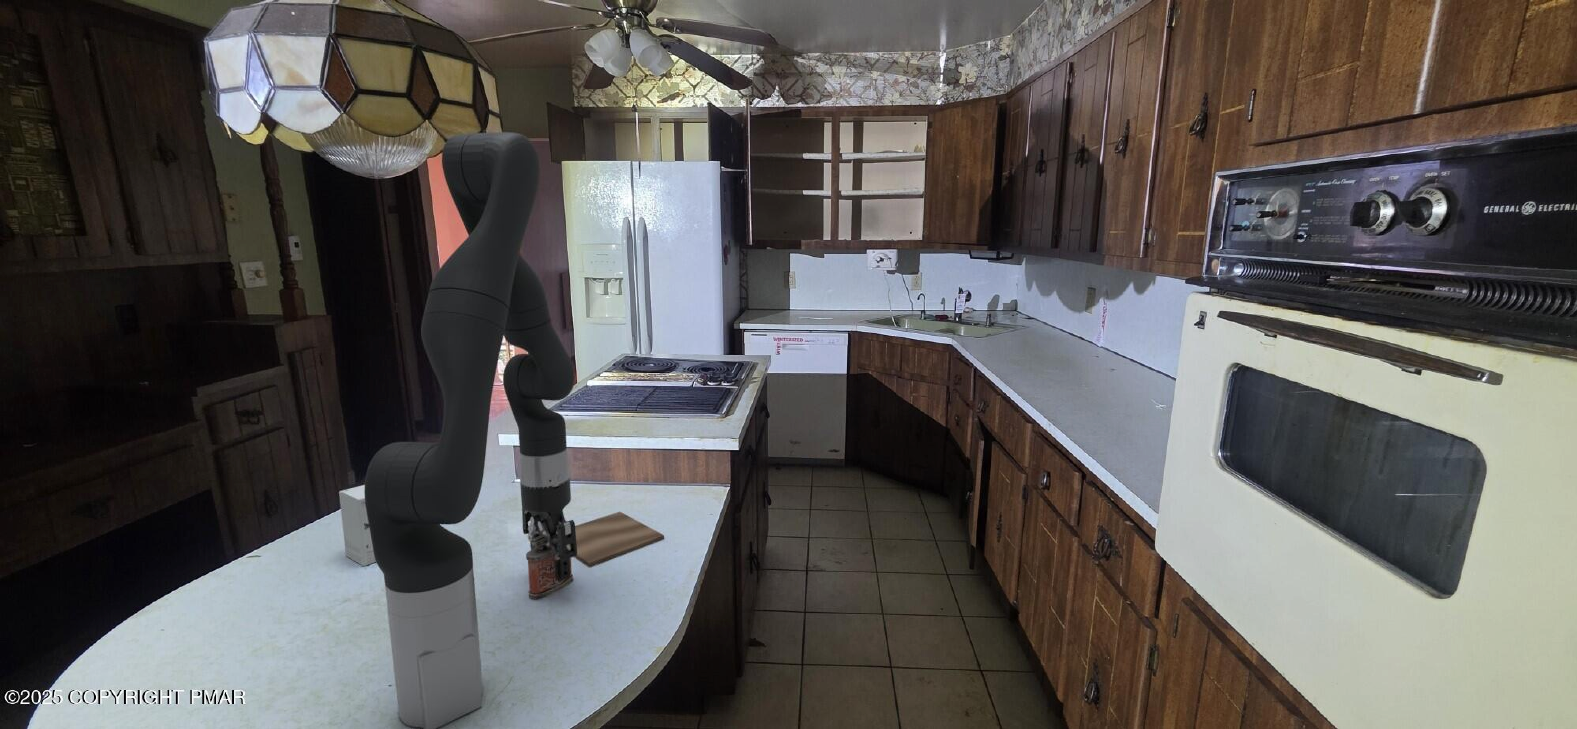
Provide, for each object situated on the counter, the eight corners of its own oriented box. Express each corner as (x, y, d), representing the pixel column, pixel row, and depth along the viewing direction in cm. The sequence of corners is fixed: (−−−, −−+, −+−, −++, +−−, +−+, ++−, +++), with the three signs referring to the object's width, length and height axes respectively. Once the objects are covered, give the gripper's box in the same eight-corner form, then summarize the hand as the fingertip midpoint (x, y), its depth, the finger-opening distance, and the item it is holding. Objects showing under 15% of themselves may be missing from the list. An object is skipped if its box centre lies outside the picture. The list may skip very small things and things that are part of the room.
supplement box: (363, 567, 111) (356, 499, 109) (345, 556, 115) (337, 490, 113) (407, 551, 117) (401, 487, 115) (388, 541, 121) (382, 478, 119)
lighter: (564, 575, 109) (561, 521, 107) (577, 580, 107) (575, 525, 106) (524, 596, 102) (520, 539, 101) (537, 602, 101) (534, 544, 99)
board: (664, 539, 123) (664, 535, 123) (589, 567, 112) (589, 563, 112) (620, 515, 134) (619, 511, 134) (547, 538, 123) (547, 534, 123)
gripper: (503, 471, 104) (509, 562, 107) (542, 495, 94) (548, 594, 97) (547, 460, 109) (552, 548, 112) (588, 482, 99) (593, 577, 102)
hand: (550, 569), depth 104 cm, fingers open, 8 cm apart
